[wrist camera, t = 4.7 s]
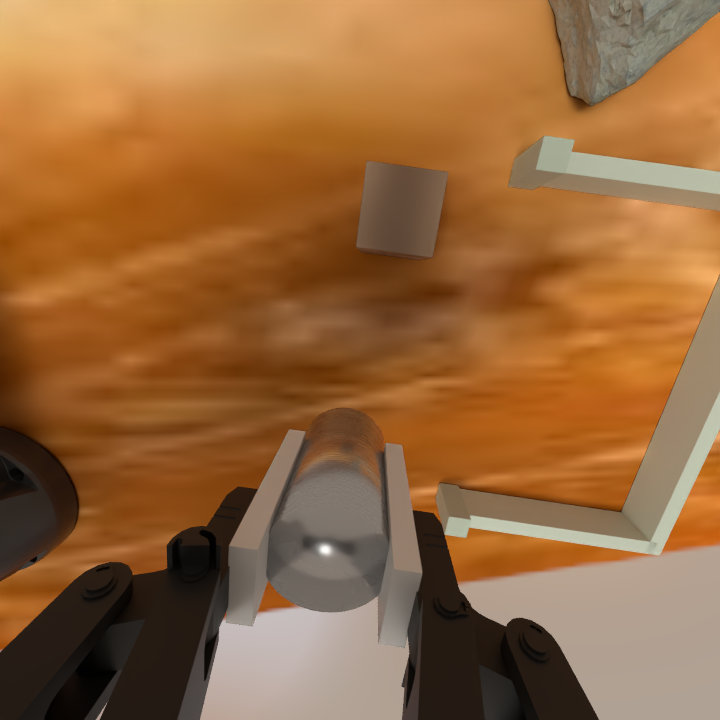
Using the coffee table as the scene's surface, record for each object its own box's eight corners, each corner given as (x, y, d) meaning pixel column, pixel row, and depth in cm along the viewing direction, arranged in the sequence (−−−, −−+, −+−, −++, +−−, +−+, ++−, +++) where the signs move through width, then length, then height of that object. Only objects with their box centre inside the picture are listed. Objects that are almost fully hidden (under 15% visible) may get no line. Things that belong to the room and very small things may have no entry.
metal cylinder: (301, 473, 17) (258, 603, 11) (308, 402, 16) (264, 498, 10) (377, 483, 17) (382, 619, 11) (389, 413, 16) (402, 516, 10)
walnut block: (361, 252, 26) (355, 246, 19) (369, 189, 25) (366, 160, 18) (418, 260, 26) (432, 257, 19) (428, 197, 25) (448, 171, 18)
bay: (435, 498, 32) (444, 534, 28) (514, 158, 24) (544, 135, 20) (628, 527, 32) (667, 567, 27) (771, 194, 24) (857, 178, 19)
